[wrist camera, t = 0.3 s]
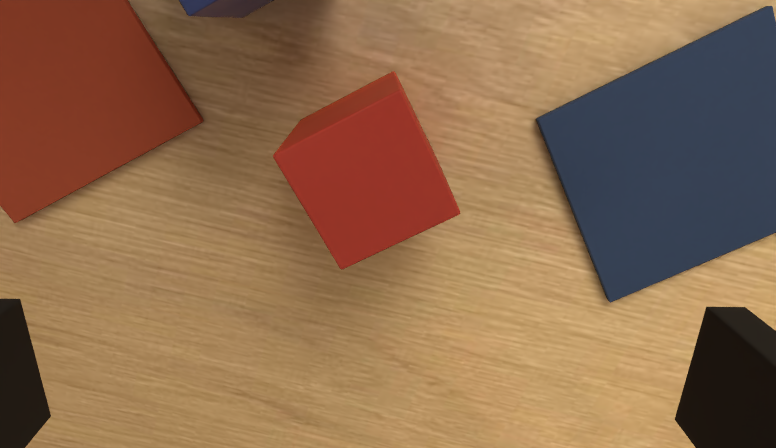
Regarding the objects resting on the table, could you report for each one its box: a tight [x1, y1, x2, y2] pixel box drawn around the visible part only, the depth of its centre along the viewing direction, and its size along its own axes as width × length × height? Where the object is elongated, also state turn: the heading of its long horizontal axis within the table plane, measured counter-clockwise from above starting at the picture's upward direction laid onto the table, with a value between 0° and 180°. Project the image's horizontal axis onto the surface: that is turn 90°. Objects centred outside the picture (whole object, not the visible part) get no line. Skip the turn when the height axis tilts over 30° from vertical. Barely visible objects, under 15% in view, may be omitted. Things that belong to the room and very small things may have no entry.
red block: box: [273, 72, 460, 269], centre depth 22 cm, size 5×5×7 cm
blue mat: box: [536, 6, 776, 302], centre depth 26 cm, size 11×11×1 cm
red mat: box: [0, 0, 203, 223], centre depth 23 cm, size 11×11×1 cm
